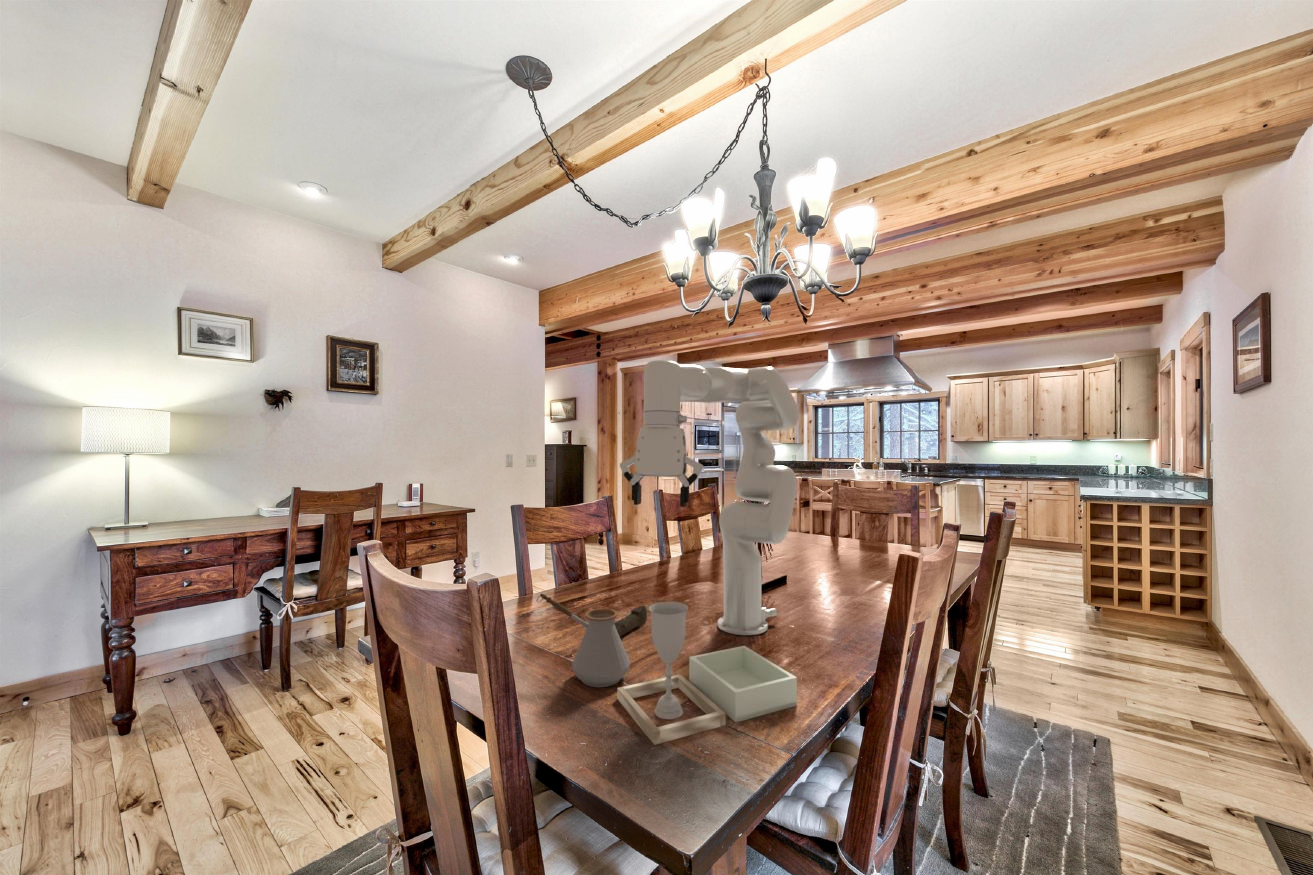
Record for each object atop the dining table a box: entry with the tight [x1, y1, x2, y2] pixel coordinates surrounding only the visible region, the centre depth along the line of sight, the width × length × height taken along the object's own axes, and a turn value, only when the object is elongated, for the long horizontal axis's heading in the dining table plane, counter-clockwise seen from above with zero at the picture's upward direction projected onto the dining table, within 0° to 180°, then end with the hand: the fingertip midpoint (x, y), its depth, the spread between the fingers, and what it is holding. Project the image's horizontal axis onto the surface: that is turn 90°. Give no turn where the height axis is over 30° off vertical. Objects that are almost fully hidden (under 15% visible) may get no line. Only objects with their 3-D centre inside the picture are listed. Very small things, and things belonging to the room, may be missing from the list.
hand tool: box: [614, 605, 648, 638], centre depth 128 cm, size 19×4×5 cm, turn 148°
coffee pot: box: [536, 593, 631, 688], centre depth 105 cm, size 21×12×15 cm, turn 64°
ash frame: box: [616, 673, 726, 746], centre depth 90 cm, size 13×16×2 cm
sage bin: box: [688, 645, 798, 723], centre depth 96 cm, size 13×16×5 cm
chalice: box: [648, 601, 689, 720], centre depth 90 cm, size 7×7×18 cm
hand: (660, 505), depth 105 cm, fingers open, 9 cm apart
